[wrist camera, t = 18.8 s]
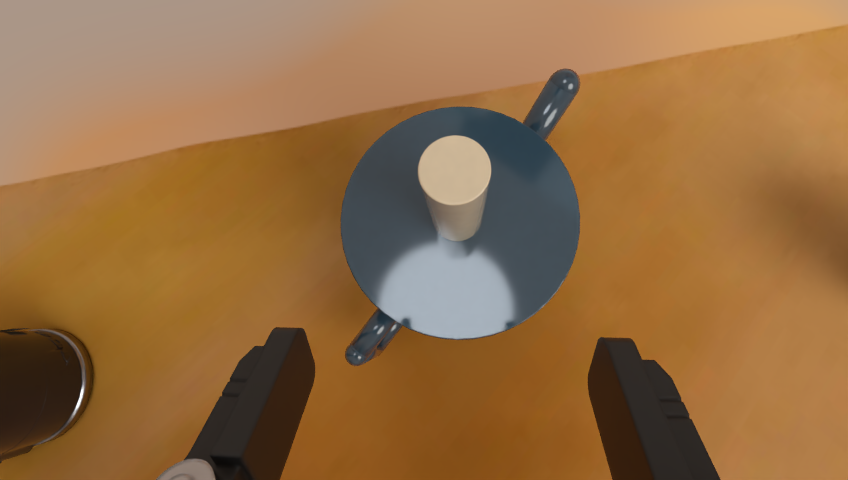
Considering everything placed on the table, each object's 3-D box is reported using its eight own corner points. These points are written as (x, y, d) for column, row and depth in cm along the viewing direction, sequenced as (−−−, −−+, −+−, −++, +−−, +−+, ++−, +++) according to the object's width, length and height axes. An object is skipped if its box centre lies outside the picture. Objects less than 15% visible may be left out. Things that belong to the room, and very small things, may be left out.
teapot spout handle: (380, 362, 30) (355, 377, 23) (360, 345, 31) (329, 355, 24) (562, 125, 32) (590, 73, 25) (541, 111, 33) (563, 56, 26)
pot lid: (481, 389, 23) (492, 439, 14) (301, 243, 25) (212, 205, 16) (622, 198, 24) (717, 130, 15) (437, 75, 26) (423, -46, 17)
